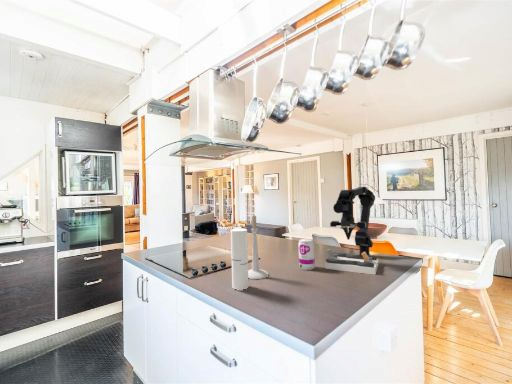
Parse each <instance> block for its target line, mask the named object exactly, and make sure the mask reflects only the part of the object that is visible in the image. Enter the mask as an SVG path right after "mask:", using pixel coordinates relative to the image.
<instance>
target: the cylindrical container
mask: <svg viewBox="0 0 512 384" xmlns="http://www.w3.org/2000/svg"><path fill="white" fill-rule="evenodd" d="M248 250H249V249H248V229H247V228H234V229H230V255H231V257H230V258H231V288H234V289H237V290H236V291H244V290H243V289H246V290H247V288H248V287H249V279H248V270H249V258H248V257H249V254H248V252H249V251H248ZM234 289H233V290H234ZM248 289H249V288H248Z"/></svg>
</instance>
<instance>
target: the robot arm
mask: <svg viewBox="0 0 512 384" xmlns="http://www.w3.org/2000/svg"><path fill="white" fill-rule="evenodd" d="M356 197H358V199H359V203H360V206H361V212H360V220H359V221H357V222H355V217H354V204H355V201H354V199H356ZM375 201H376V196H375V194H374V192H373V191H371V189H370V190H369V188H368V187H367V186H358V187H355V188H352V189H341V190H340V192H339V194H338V197H337V200H336V203H334V204H333V211H334V212H335V213H336V214H341V215H342V216H341V219H340V221H339V220H331V221H330V225H329V226H330V227H333V228H334V227H335V228H336V227H337V226H340V229H341V230H343V232H344V235H346V240H349V241H350V239H351V235H352V233H353V230H355V229H356V227H358V230H356V231H355V235H354V243H355V246H356V247H357V246H358V247H359V248H358V250H359V251H358V253H359V254H358V255H361V254H362V253H363V252H366V254H367V255H368V256H372V255H371V254H370V248H373V247H374V243H373V240H372V239H371V234H370V232H369V223H370V215H371V214H370V213H371V208H372V207H373V205H374V204H375Z"/></svg>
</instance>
